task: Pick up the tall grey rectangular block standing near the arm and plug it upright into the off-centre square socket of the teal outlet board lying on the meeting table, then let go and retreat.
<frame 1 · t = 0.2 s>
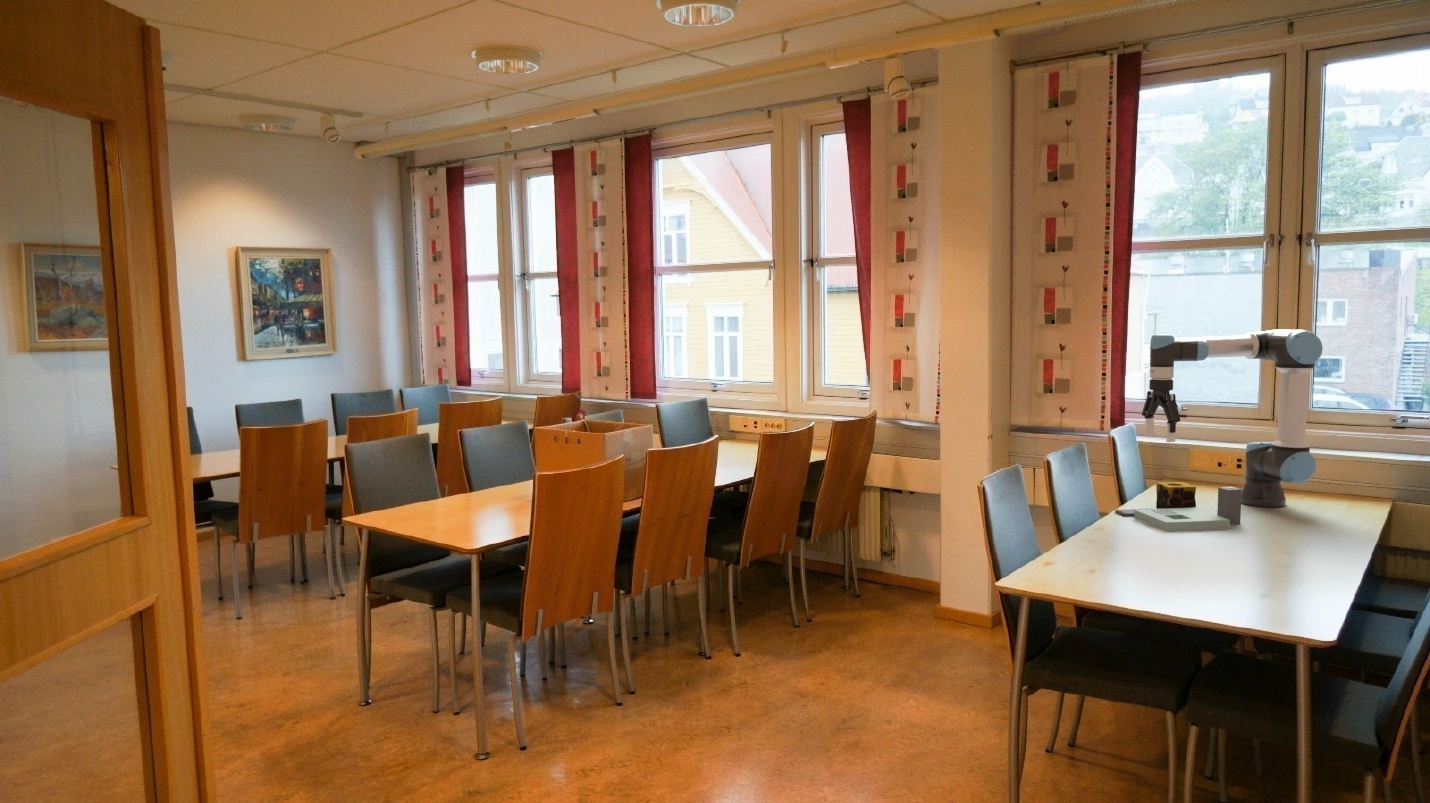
hand: (1159, 439, 333), 28 cm above the table, fingers open, 13 cm apart
grey rectangular block: (1228, 522, 324), on the table
outlet board: (1180, 523, 325), on the table
phone: (1138, 514, 340), on the table
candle: (1175, 512, 343), on the table
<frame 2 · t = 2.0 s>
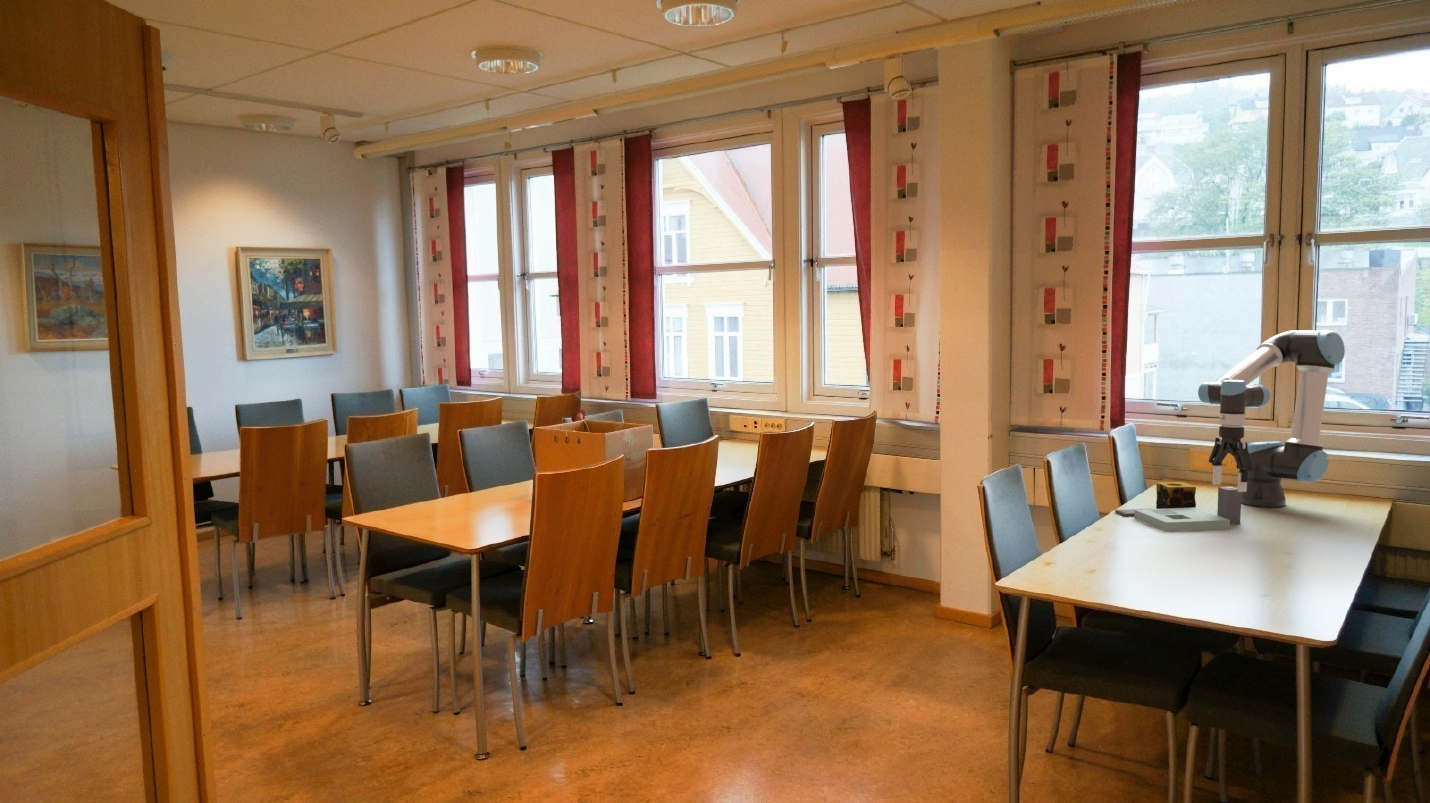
hand: (1229, 488, 323), 12 cm above the table, fingers open, 13 cm apart
nothing on the table moved.
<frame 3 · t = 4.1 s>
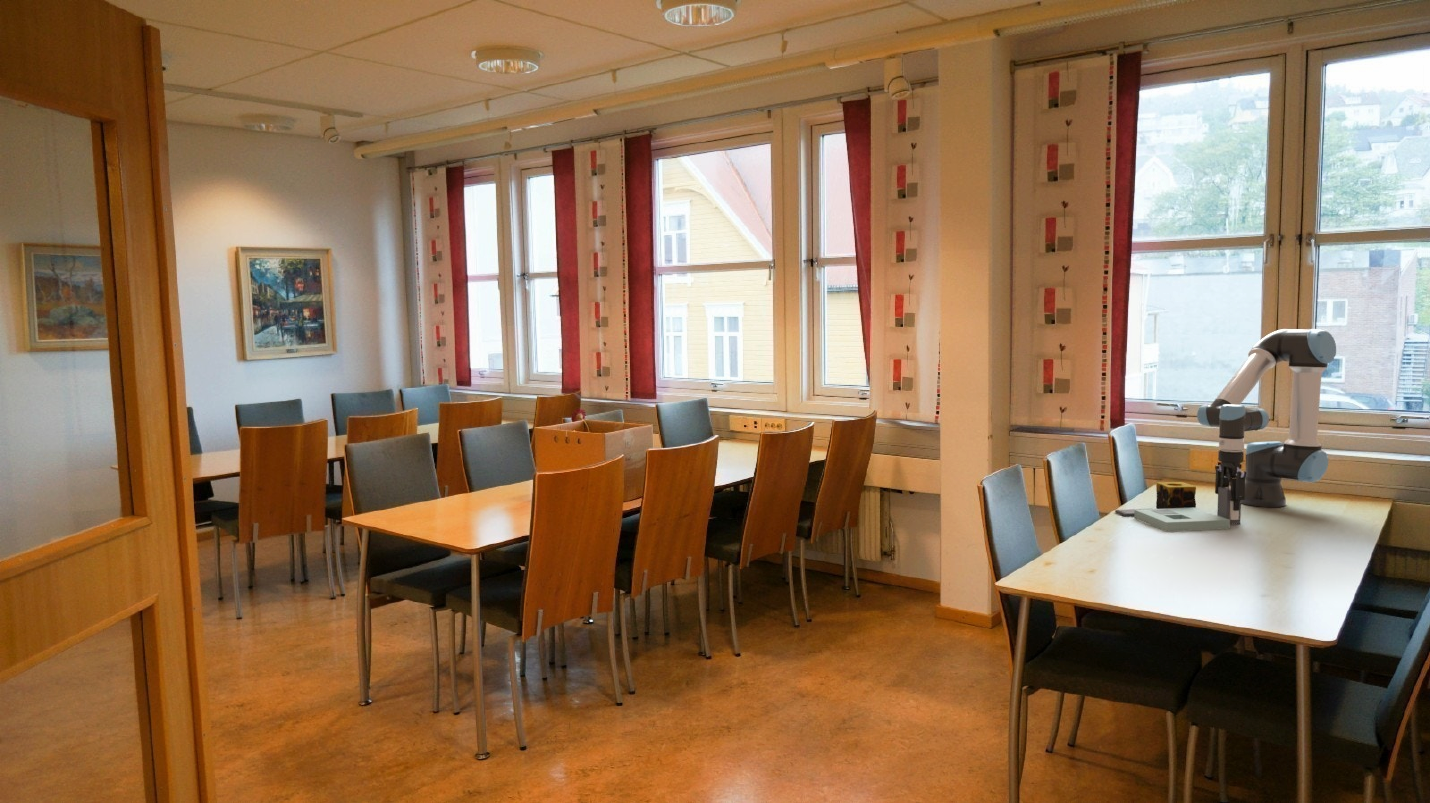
hand: (1228, 517, 324), 2 cm above the table, fingers closed on grey rectangular block, 5 cm apart
grey rectangular block: (1228, 522, 324), on the table, touching gripper
everything else where it was.
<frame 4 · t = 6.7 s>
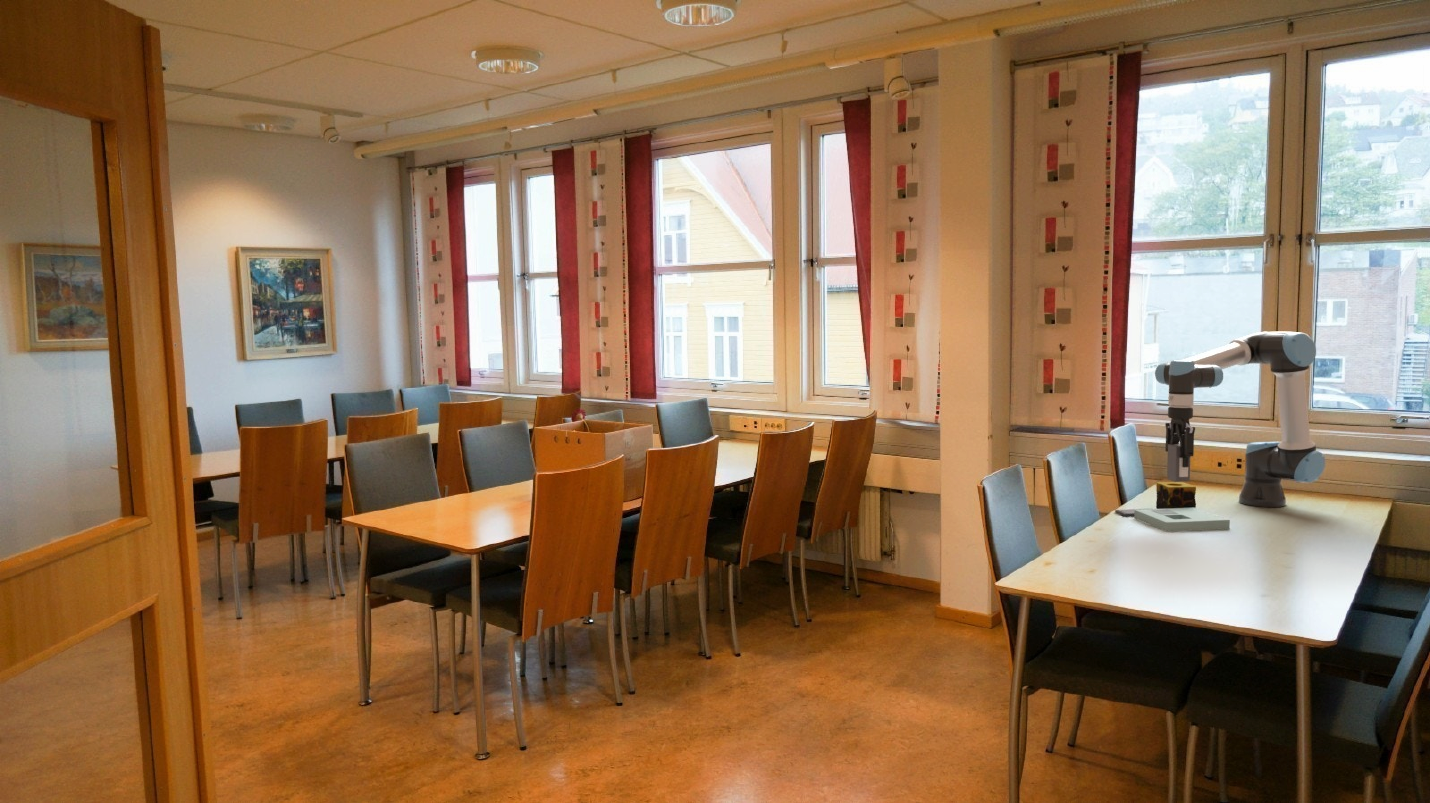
hand: (1178, 475, 320), 17 cm above the table, fingers closed on grey rectangular block, 5 cm apart
grey rectangular block: (1178, 480, 320), point 16 cm above the table, touching gripper
everything else where it was.
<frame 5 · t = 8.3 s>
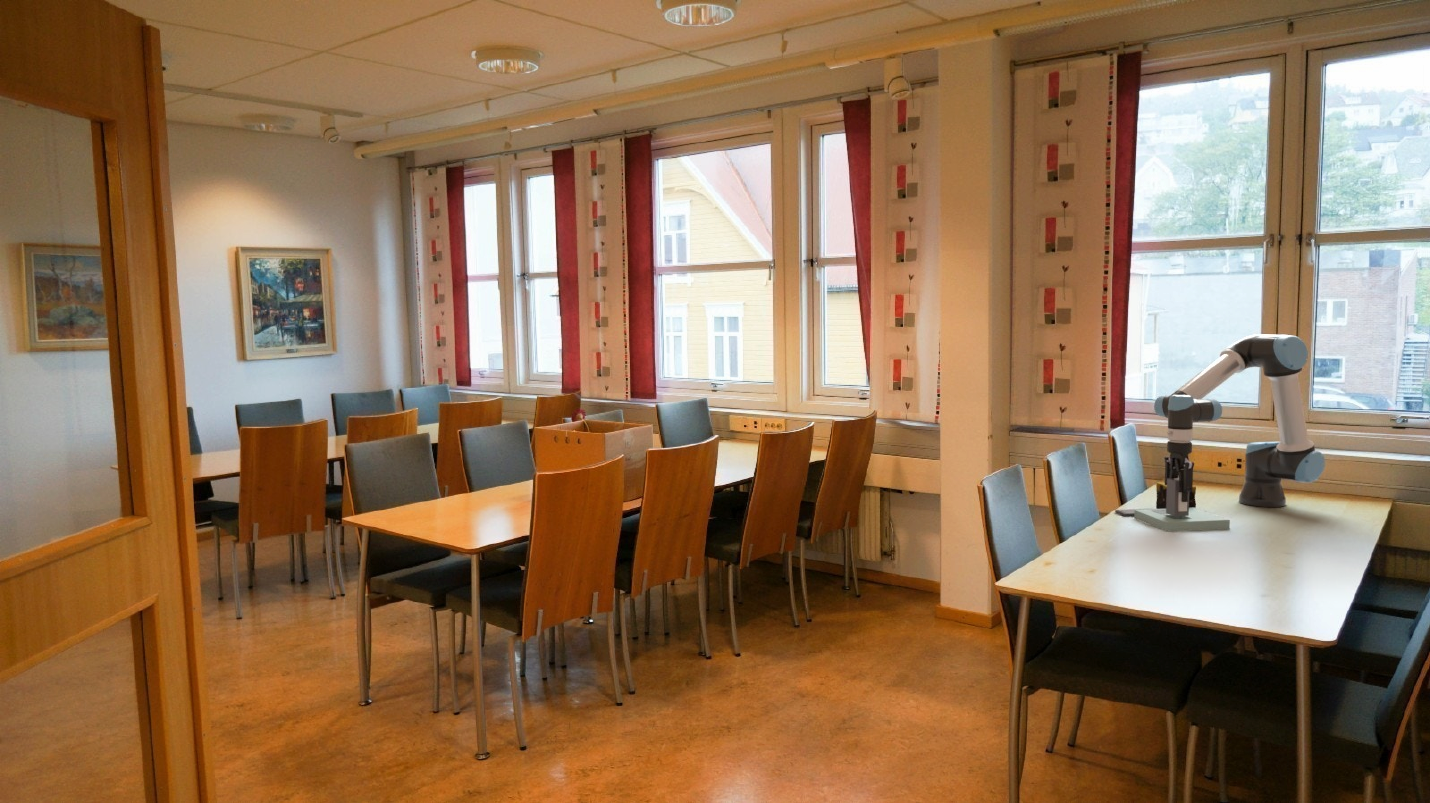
hand: (1177, 509, 321), 6 cm above the table, fingers closed on grey rectangular block, 5 cm apart
grey rectangular block: (1177, 514, 321), point 4 cm above the table, touching gripper
everything else where it was.
when the fingers open (4 cm above the table, at t = 9.6 s): grey rectangular block drops 2 cm, resting in outlet board.
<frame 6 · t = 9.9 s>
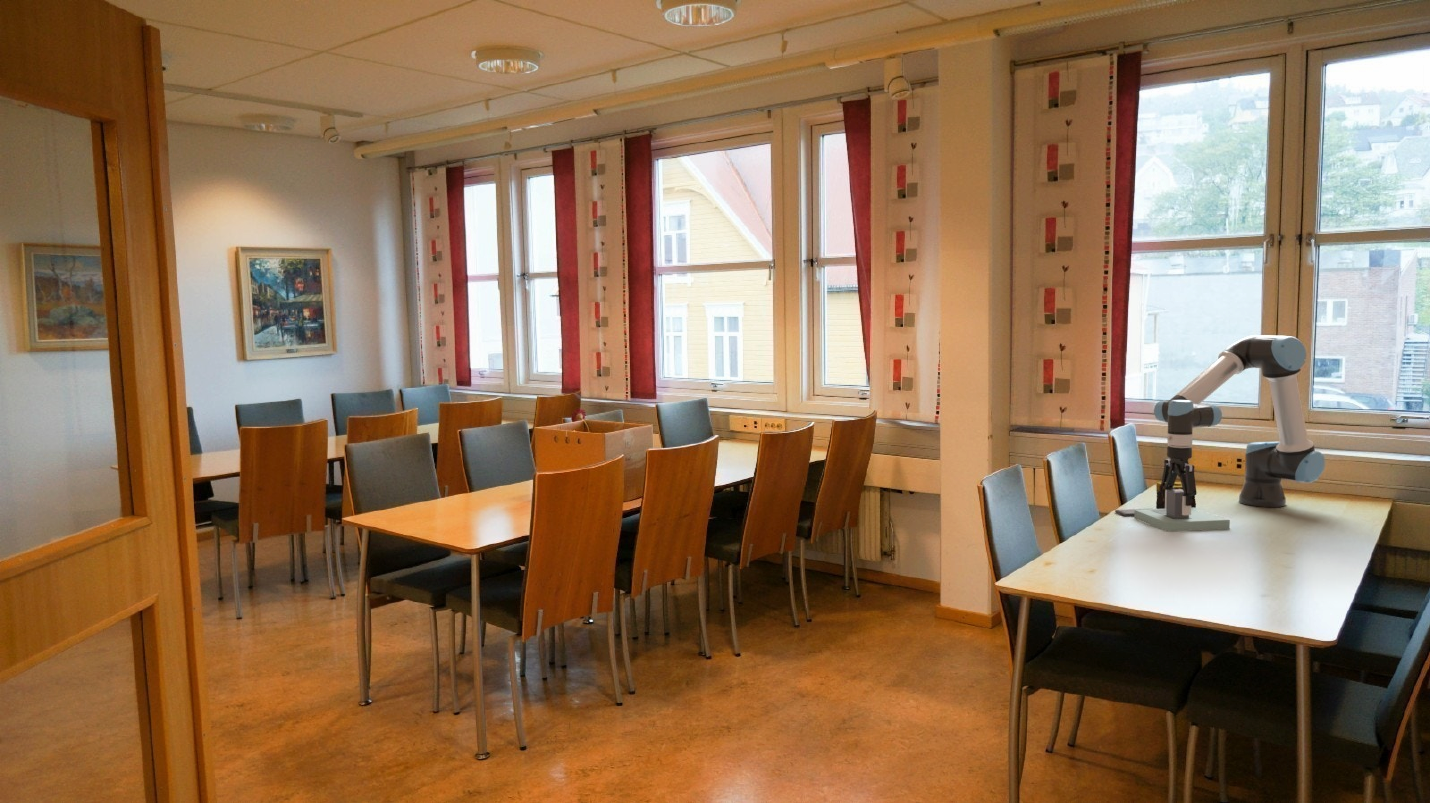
hand: (1177, 511, 321), 5 cm above the table, fingers open, 9 cm apart
grey rectangular block: (1177, 525, 322), resting in outlet board
everything else where it was.
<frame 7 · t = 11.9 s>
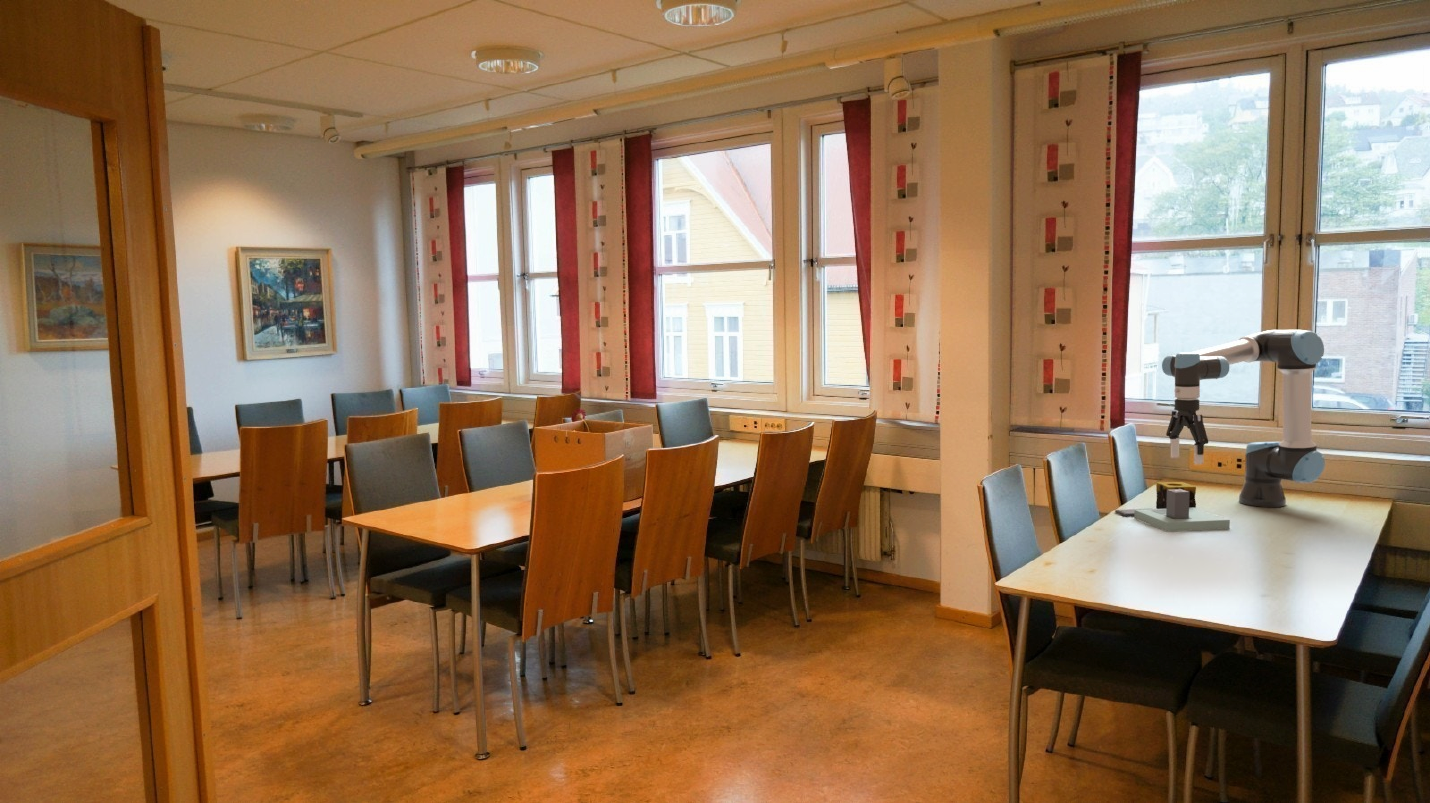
hand: (1186, 460, 322), 22 cm above the table, fingers open, 13 cm apart
nothing on the table moved.
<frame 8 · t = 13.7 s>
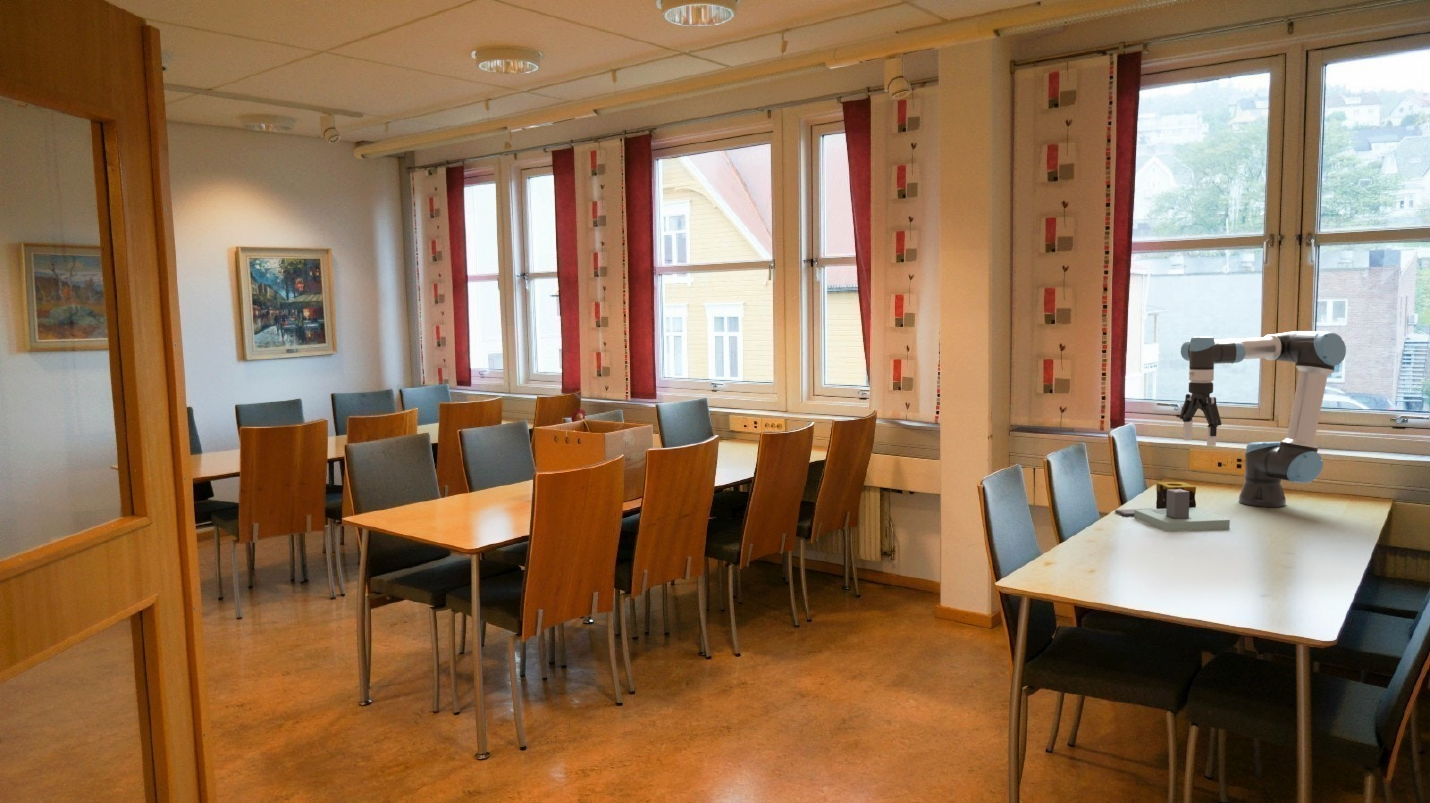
hand: (1199, 443, 328), 27 cm above the table, fingers open, 13 cm apart
nothing on the table moved.
at the end: grey rectangular block 0.0 cm from the target spot on the outlet board, point 0.0 cm above the outlet board's base; grey rectangular block tilted 0°; the gripper is holding nothing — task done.
